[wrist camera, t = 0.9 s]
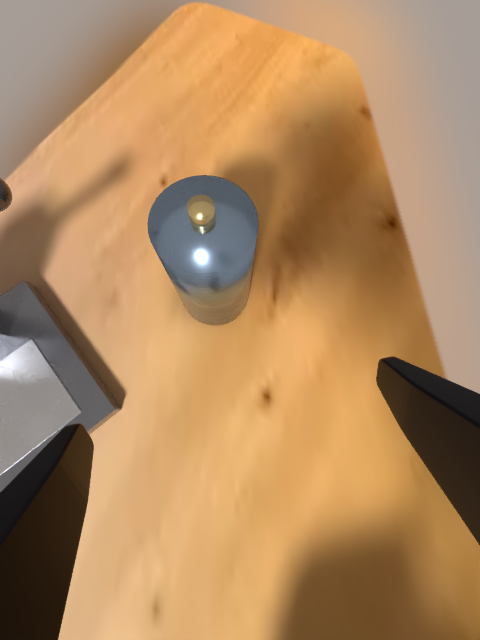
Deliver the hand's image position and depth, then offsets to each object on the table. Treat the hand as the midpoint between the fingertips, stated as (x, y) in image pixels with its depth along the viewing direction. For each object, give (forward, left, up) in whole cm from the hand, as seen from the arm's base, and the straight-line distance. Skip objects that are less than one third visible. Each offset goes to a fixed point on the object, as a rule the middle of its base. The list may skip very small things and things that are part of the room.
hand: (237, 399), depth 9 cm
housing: (+5, -6, -13) cm, 16 cm away
